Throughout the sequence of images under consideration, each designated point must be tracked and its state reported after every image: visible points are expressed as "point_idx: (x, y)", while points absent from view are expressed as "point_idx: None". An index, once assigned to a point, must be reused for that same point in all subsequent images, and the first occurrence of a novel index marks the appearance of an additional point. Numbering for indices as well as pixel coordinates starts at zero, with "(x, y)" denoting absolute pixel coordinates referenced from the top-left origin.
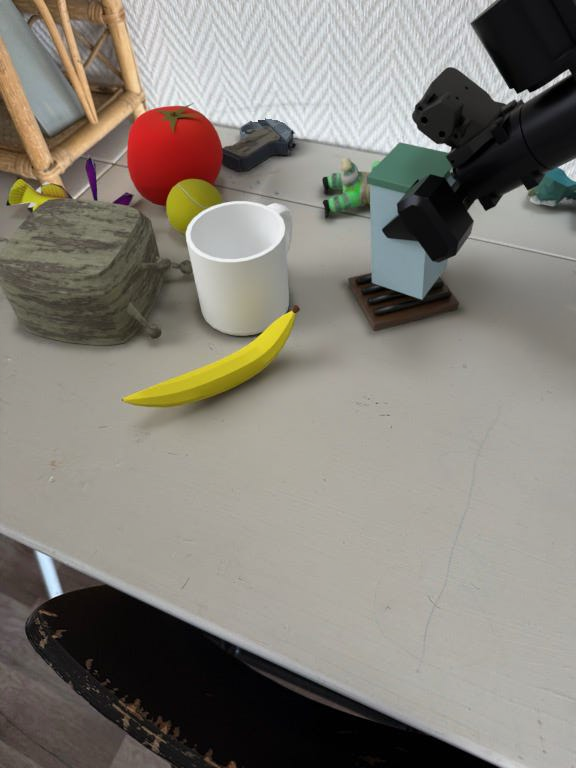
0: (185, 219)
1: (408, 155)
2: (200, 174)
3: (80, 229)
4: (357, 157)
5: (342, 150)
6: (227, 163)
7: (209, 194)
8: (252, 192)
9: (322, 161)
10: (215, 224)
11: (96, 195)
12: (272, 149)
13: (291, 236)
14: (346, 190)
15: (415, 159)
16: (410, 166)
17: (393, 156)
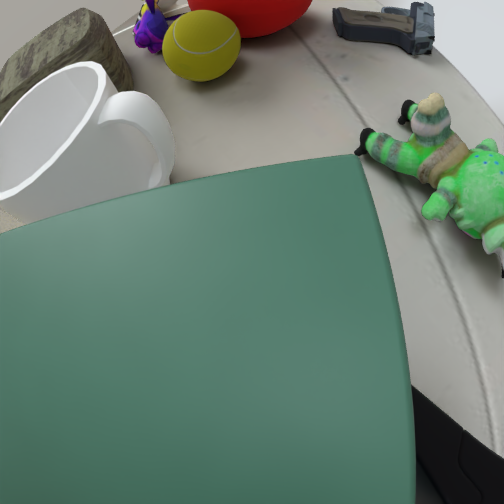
0: (163, 54)
1: (161, 395)
2: (240, 10)
3: (45, 45)
4: (486, 117)
5: (477, 97)
6: (334, 23)
7: (198, 34)
8: (321, 61)
9: (443, 87)
10: (87, 86)
11: (153, 5)
12: (396, 37)
13: (165, 161)
14: (410, 141)
15: (127, 495)
16: (36, 473)
17: (98, 260)
